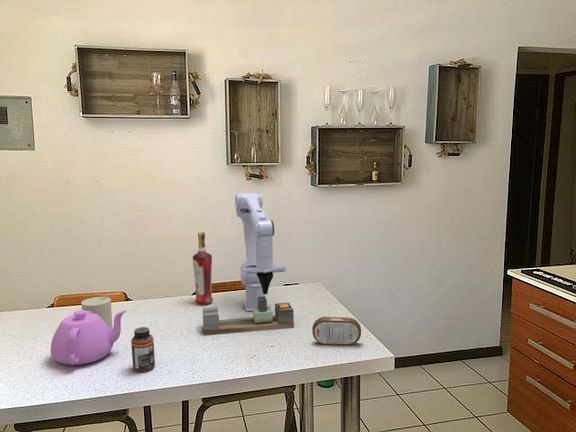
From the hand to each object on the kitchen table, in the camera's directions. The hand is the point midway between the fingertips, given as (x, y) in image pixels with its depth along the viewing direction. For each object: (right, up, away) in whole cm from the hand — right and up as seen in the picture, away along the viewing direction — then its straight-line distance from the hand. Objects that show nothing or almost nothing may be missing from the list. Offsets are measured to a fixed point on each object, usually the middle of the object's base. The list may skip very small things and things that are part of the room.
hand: (265, 293), depth 169 cm
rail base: (-6, -11, -2) cm, 12 cm away
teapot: (-50, -15, -24) cm, 58 cm away
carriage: (-1, -9, -2) cm, 9 cm away
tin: (+23, -13, -18) cm, 32 cm away
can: (-55, -13, -8) cm, 56 cm away
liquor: (-25, -8, +23) cm, 35 cm away
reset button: (+7, -7, 0) cm, 10 cm away
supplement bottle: (-32, -16, -33) cm, 49 cm away
